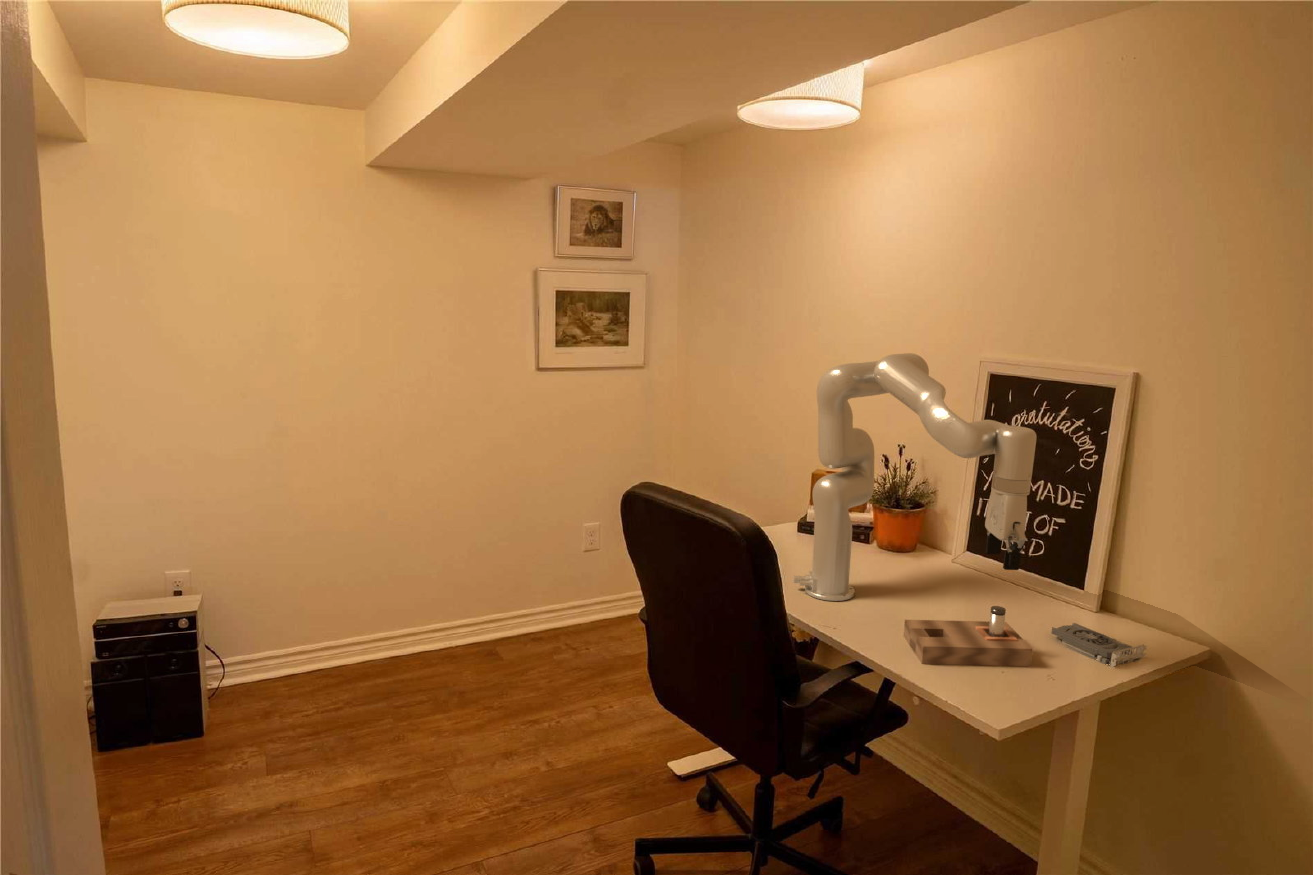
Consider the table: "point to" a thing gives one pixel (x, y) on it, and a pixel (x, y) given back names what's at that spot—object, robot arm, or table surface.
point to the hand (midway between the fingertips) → (1001, 561)
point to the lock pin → (996, 621)
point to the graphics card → (1098, 645)
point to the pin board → (965, 643)
